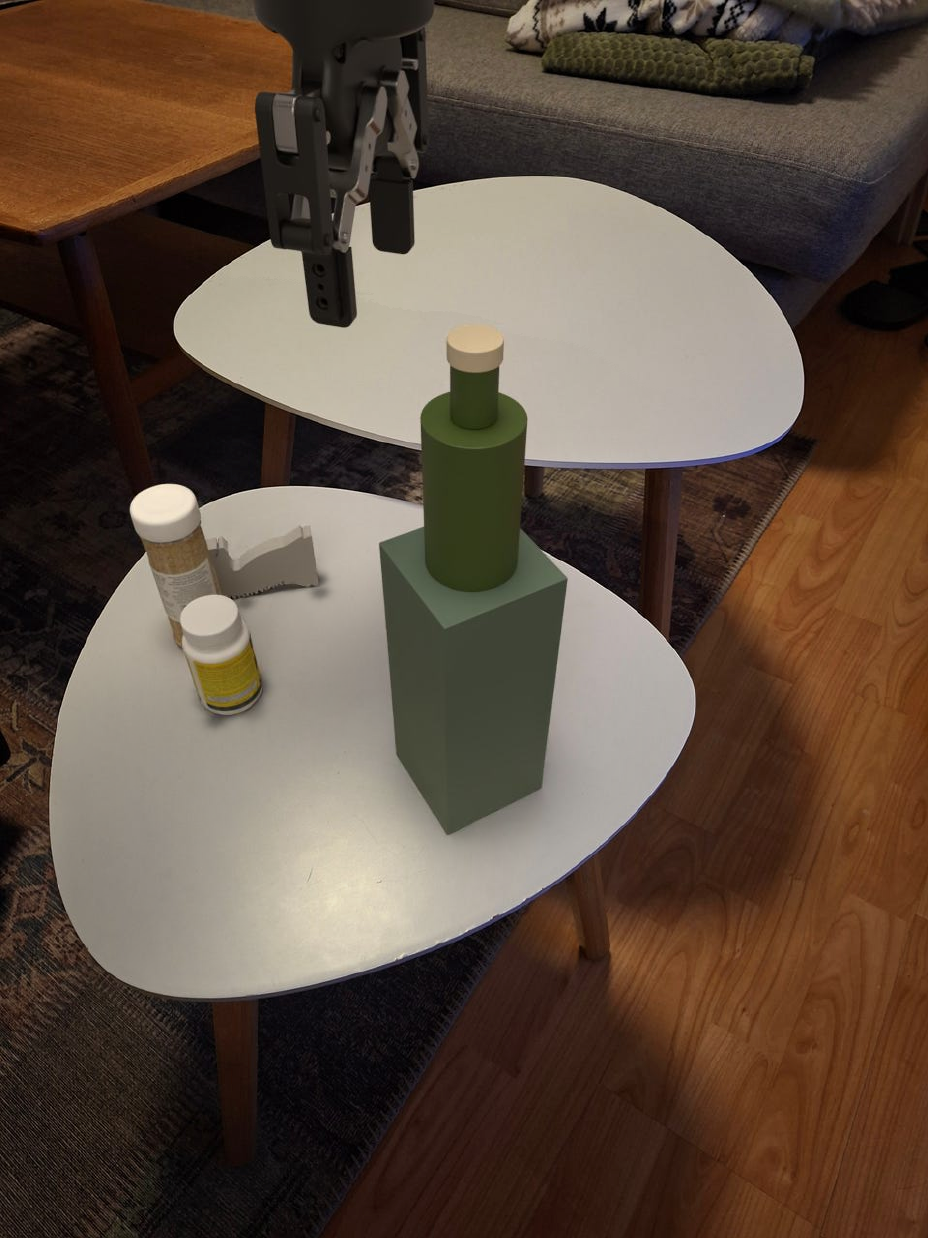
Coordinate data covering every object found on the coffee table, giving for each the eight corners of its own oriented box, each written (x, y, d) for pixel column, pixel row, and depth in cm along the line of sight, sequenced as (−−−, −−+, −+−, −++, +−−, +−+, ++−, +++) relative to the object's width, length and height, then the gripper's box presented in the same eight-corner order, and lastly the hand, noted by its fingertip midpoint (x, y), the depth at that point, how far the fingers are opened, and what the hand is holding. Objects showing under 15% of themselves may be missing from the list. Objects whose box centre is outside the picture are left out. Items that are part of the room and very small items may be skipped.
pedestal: (447, 835, 59) (444, 628, 44) (396, 754, 63) (378, 542, 49) (541, 788, 61) (568, 577, 47) (486, 713, 66) (494, 500, 51)
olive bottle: (453, 604, 45) (453, 379, 36) (408, 548, 48) (397, 326, 39) (535, 571, 47) (555, 348, 38) (487, 519, 50) (494, 300, 41)
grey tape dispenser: (318, 586, 75) (198, 604, 73) (316, 575, 76) (197, 593, 74) (312, 534, 71) (183, 552, 69) (309, 524, 72) (183, 541, 70)
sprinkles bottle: (229, 609, 73) (195, 477, 63) (231, 649, 70) (196, 517, 60) (172, 617, 72) (129, 485, 63) (172, 658, 69) (126, 526, 59)
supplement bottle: (276, 691, 67) (258, 613, 61) (225, 727, 65) (201, 650, 58) (237, 658, 69) (216, 580, 63) (186, 692, 67) (159, 615, 61)
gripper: (319, -146, 40) (349, 222, 51) (153, -100, 30) (236, 338, 42) (479, -138, 38) (473, 239, 50) (358, -88, 29) (385, 363, 40)
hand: (365, 284), depth 46 cm, fingers open, 8 cm apart
